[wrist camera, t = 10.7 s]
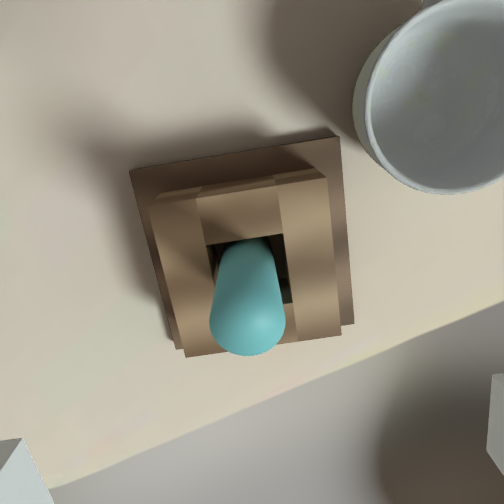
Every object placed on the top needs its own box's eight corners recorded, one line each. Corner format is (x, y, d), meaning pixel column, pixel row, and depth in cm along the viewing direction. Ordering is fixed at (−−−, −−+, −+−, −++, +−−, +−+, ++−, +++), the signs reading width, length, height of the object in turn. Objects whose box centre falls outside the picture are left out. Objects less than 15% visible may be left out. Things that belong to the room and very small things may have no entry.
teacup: (459, 182, 31) (526, 204, 24) (325, 168, 31) (351, 186, 23) (517, -22, 27) (623, -74, 19) (360, -43, 26) (407, -105, 19)
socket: (132, 169, 31) (109, 181, 25) (336, 135, 30) (355, 141, 25) (177, 343, 36) (166, 382, 31) (351, 318, 35) (369, 353, 30)
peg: (218, 231, 31) (202, 293, 20) (268, 224, 31) (280, 282, 20) (227, 277, 33) (216, 360, 21) (274, 270, 32) (289, 350, 21)
